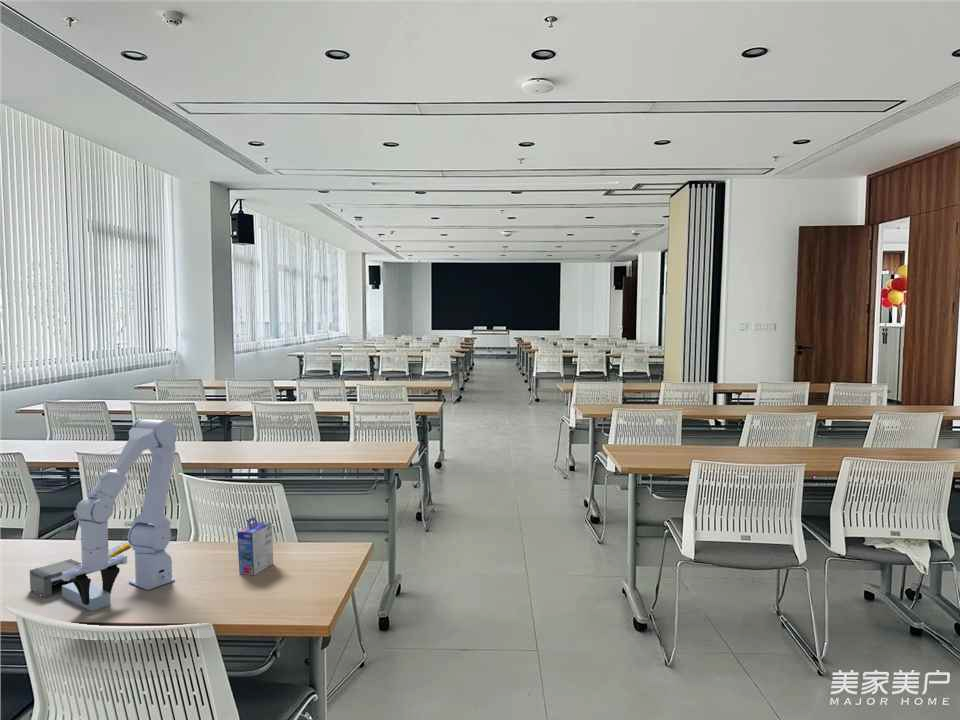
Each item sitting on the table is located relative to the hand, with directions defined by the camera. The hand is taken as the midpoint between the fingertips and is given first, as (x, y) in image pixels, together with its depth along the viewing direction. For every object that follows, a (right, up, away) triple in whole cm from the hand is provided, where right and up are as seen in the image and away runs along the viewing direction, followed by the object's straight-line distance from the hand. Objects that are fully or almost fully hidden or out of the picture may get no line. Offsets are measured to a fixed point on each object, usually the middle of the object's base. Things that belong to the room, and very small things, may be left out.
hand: (96, 600), depth 161 cm
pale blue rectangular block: (-4, -1, +3) cm, 5 cm away
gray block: (-17, -1, +11) cm, 20 cm away
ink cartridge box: (+31, -1, +25) cm, 40 cm away
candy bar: (-17, 0, +36) cm, 40 cm away
